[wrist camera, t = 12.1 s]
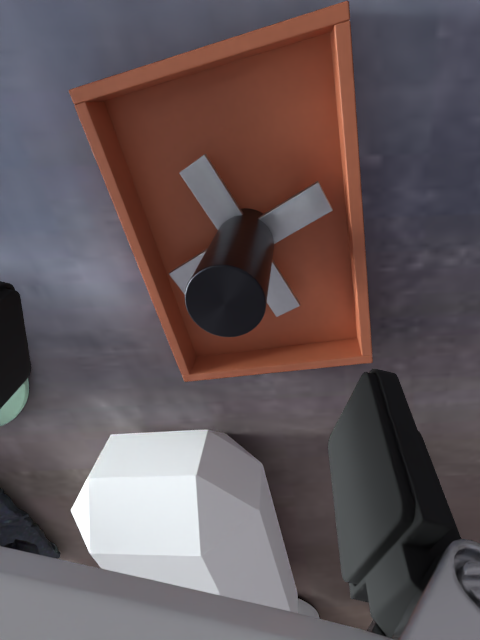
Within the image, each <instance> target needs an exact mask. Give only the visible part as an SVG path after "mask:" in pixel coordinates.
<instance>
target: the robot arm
mask: <svg viewBox="0 0 480 640" xmlns="http://www.w3.org/2000/svg"><path fill="white" fill-rule="evenodd" d="M30 372H31V362H30V356H29V350H28V343H27V337H26V331H25V324H24V318H23V311H22V305H21V299H20V294H19V293H18V292H17V291H15V289H14V287H13V285H11V284H9V283H5V282H1V281H0V409H1V408H2V407H3V405H4V404H5V403H6V402H7V401H8V400H9V399H10V398H11V397H12V395H13V394H14V393H15V392H16V391H17V390H18V389H19V388H20V387H21V385H22V384H23V383H24V382H25V381H26V380H27V378H28V377H29V375H30ZM328 453H329V462H330V471H331V481H332V490H333V499H334V508H335V518H336V527H337V536H338V545H339V555H340V564H341V572H342V577H343V580H344V581H345V582H348V583H349V587H350V595H351V599H356V600H360V601H365V602H369V607H370V613H371V617H372V618H373V621H372V622H371V624H370V626H369V627H368V629H367V631H365V630H362V629H358V628H354V627H350V626H346V625H342V624H338V623H334V622H330V621H326V620H322V619H318V618H314V617H310V616H306V615H302V614H298V613H294V612H290V611H286V610H282V609H278V608H273V607H269V606H264V605H260V604H256V603H251V602H247V601H242V600H238V599H234V598H229V597H225V596H220V595H216V594H212V593H207V592H203V591H198V590H194V589H190V588H185V587H181V586H177V585H172V584H168V583H163V582H159V581H155V580H150V579H146V578H141V577H137V576H132V575H128V574H123V573H119V572H114V571H110V570H105V569H101V568H96V567H92V566H87V565H83V564H78V563H74V562H69V561H65V560H60V559H56V558H51V557H47V556H42V555H38V554H33V553H29V552H24V551H20V550H15V549H11V548H6V547H2V546H0V640H480V544H479V543H477V542H474V541H472V540H465V539H461V537H460V535H459V532H458V529H457V527H456V524H455V521H454V519H453V516H452V514H451V511H450V508H449V506H448V503H447V500H446V498H445V495H444V493H443V490H442V487H441V485H440V482H439V479H438V477H437V474H436V472H435V469H434V466H433V464H432V461H431V458H430V456H429V453H428V451H427V448H426V445H425V443H424V440H423V437H422V436H421V434H420V432H419V431H418V430H417V427H416V425H415V422H414V419H413V417H412V414H411V411H410V409H409V406H408V403H407V401H406V398H405V395H404V393H403V390H402V387H401V385H400V382H399V379H398V377H397V375H396V374H395V373H391V372H387V371H383V370H378V369H372V370H371V371H370V372H369V373H367V372H364V373H363V374H362V376H361V378H360V380H359V381H358V383H357V385H356V387H355V389H354V391H353V393H352V395H351V397H350V399H349V401H348V402H347V404H346V406H345V408H344V410H343V412H342V414H341V416H340V418H339V420H338V422H337V424H336V425H335V427H334V429H333V431H332V433H331V435H330V438H329V442H328Z"/></svg>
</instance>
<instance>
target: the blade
mask: <svg viewBox="0 0 480 640" xmlns="http://www.w3.org/2000/svg"><path fill="white" fill-rule="evenodd" d="M180 175H181V177H182V178H183V180H184V181H185V182H186V184H187V185H188V187H189V188H190V190H191V191H192V193H193V194H194V196H195V197H196V199H197V200H198V202H199V203H200V205H201V206H202V208H203V209H204V211H205V212H206V214H207V215H208V216H209V218H210V219H211V221H212V222H213V224H214V225H215V227H216V228H217V230H218V231H217V233H216V235H215V236H214V238H213V240H212V242H211V244H210V245H209V247H208V248H207V249H206V250H204V251H203V252H201V253H199V254H198V255H196V256H194V257H193V258H191V259H189V260H188V261H186V262H185V263H183V264H181V265H180V266H178V267H176V268H175V269H173V270H172V271H170V273H169V275H170V277H171V278H172V279H173V280H174V282H175V283H176V284H177V285H178V287H179V288H180V289H181V291H182V292H183V293H184V294H185V304H186V308H187V311H188V313H189V315H190V317H191V318H192V320H193V321H194V322H195V323H196V324H197V325H198V326H199V327H200V328H202V329H203V330H205V331H207V332H209V333H211V334H213V335H216V336H221V337H237V336H241V335H244V334H246V333H248V332H250V331H252V330H253V329H254V328H255V327H257V325H258V324H259V323H260V322H261V320H262V319H263V317H264V314H265V311H266V304H268V305H269V307H270V308H271V310H272V311H273V312H274V314H275V315H276V317H278V316H280V315H282V314H284V313H286V312H289V311H291V310H293V309H295V308H297V307H299V306H300V302H299V300H298V299H297V297H296V296H295V294H294V292H293V291H292V289H291V288H290V286H289V284H288V283H287V281H286V280H285V278H284V277H283V275H282V273H281V272H280V270H279V269H278V267H277V265H276V264H275V262H274V261H273V259H272V258H273V250H274V244H275V243H277V242H279V241H280V240H282V239H284V238H286V237H287V236H289V235H291V234H293V233H294V232H296V231H298V230H300V229H301V228H303V227H305V226H307V225H308V224H310V223H312V222H314V221H315V220H317V219H319V218H321V217H322V216H324V215H326V214H328V213H329V212H331V211H333V209H332V207H331V205H330V203H329V201H328V199H327V197H326V195H325V193H324V191H323V189H322V188H321V186H320V184H319V182H318V181H317V182H315V183H313V184H312V185H310V186H308V187H307V188H305V189H303V190H302V191H300V192H299V193H297V194H295V195H294V196H292V197H290V198H289V199H287V200H286V201H284V202H282V203H281V204H279V205H277V206H276V207H274V208H273V209H271V210H269V211H268V212H266V213H264V214H263V213H261V212H259V211H257V210H254V209H249V208H244V209H241V208H240V207H239V205H238V204H237V202H236V201H235V199H234V197H233V196H232V194H231V193H230V191H229V189H228V188H227V186H226V185H225V183H224V182H223V180H222V178H221V177H220V175H219V174H218V172H217V170H216V169H215V167H214V166H213V164H212V163H211V161H210V159H209V158H208V156H207V155H206V154H204V155H203V156H201V157H200V158H199V159H197V160H196V161H195V162H193V163H192V164H190V165H189V166H188V167H186V168H185V169H184V170H182V171H181V172H180Z"/></svg>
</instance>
